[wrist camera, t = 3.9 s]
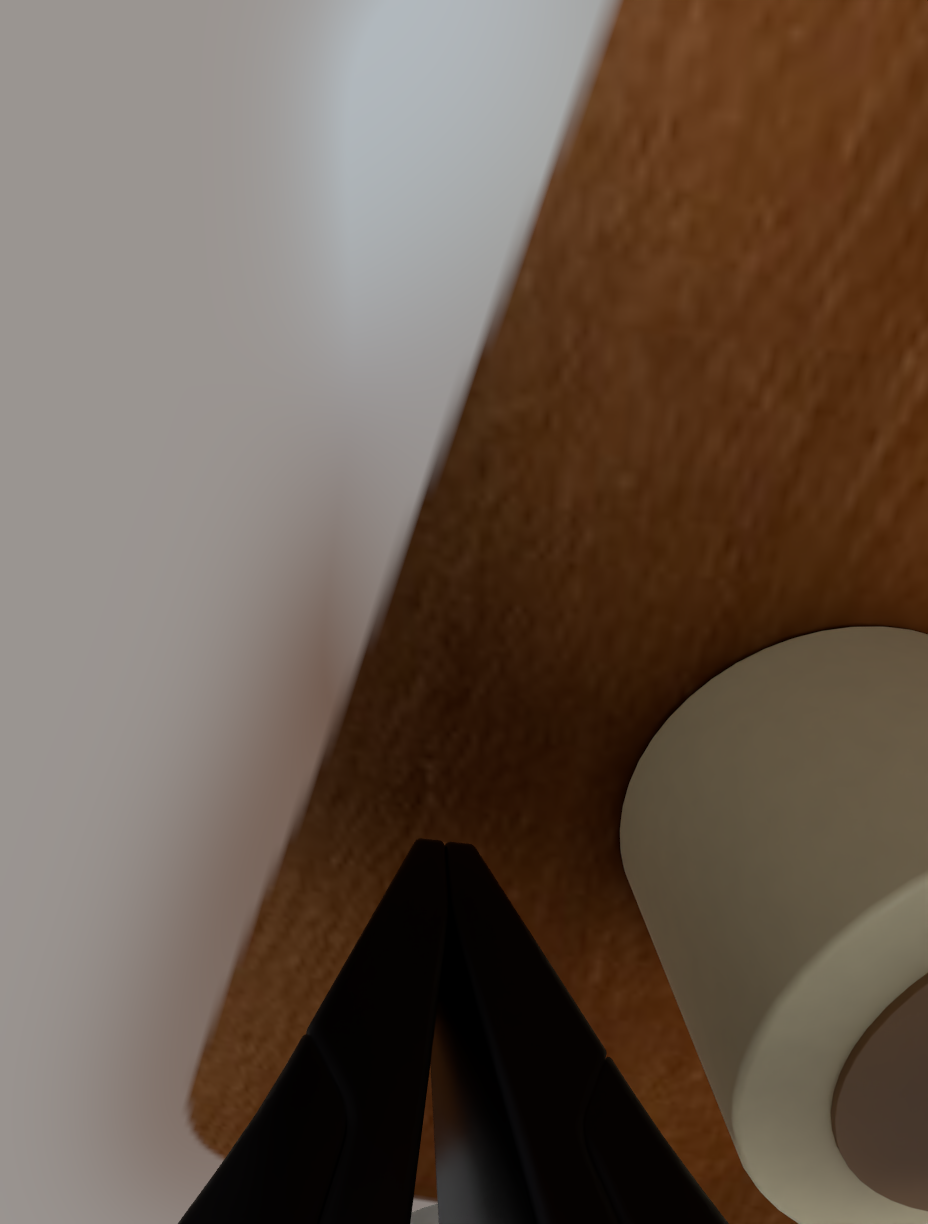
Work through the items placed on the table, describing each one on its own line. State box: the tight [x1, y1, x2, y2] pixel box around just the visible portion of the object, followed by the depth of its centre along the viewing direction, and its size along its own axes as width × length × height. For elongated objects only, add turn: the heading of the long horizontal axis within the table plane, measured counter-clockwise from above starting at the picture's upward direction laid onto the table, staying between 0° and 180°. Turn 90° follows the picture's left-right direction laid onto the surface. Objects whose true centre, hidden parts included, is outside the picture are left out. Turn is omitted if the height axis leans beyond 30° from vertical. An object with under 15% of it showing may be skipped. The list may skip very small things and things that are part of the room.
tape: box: [620, 627, 928, 1224], centre depth 9 cm, size 8×8×5 cm
